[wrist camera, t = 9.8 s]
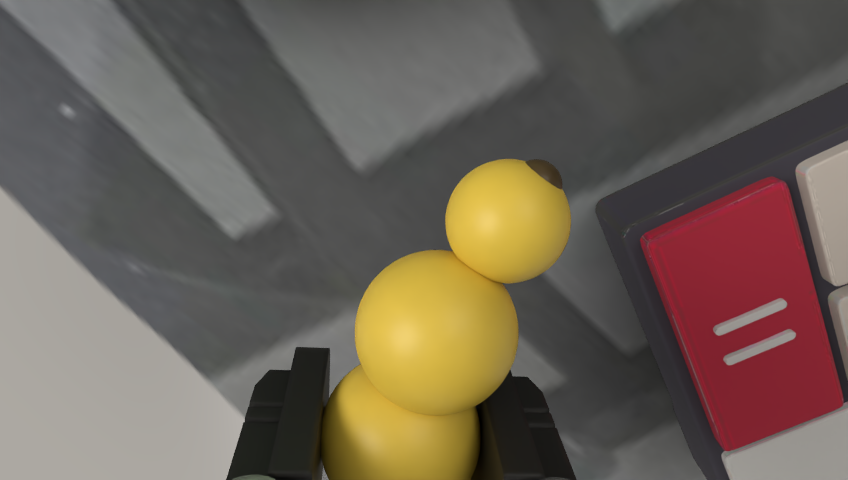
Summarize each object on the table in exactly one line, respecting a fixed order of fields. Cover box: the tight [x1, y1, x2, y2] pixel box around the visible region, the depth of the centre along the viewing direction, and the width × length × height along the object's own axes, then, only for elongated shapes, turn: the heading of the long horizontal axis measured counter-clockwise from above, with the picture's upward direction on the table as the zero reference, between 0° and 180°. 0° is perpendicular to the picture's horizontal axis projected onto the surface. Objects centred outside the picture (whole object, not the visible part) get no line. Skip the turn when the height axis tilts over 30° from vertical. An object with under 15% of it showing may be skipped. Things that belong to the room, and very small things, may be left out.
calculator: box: [596, 83, 848, 480], centre depth 22 cm, size 11×4×15 cm
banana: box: [321, 159, 571, 480], centre depth 12 cm, size 12×4×3 cm, turn 175°
